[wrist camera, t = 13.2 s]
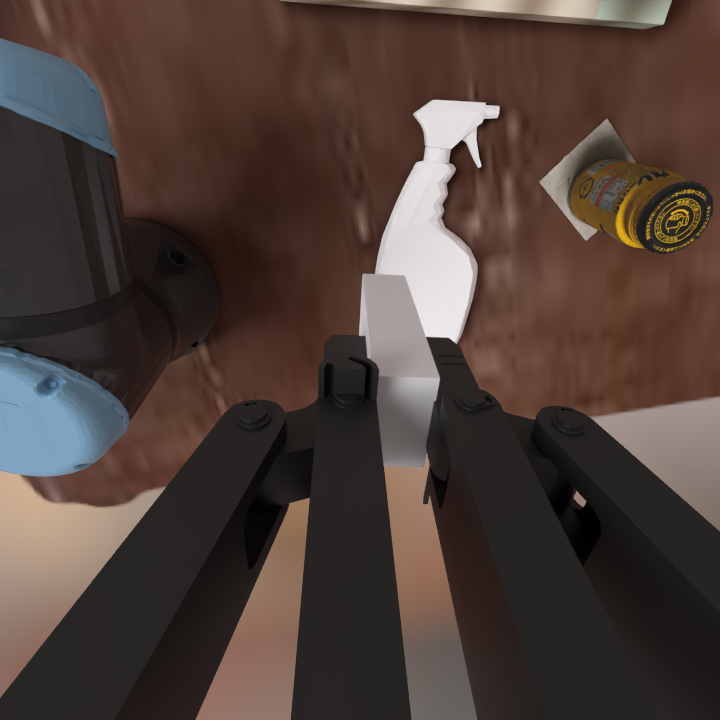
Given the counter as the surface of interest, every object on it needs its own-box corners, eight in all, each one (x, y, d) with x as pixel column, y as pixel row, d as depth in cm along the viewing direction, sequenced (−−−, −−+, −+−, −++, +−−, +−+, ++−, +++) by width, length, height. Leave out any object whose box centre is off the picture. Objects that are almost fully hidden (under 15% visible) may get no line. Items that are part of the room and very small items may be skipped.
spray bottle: (367, 339, 50) (390, 94, 38) (458, 344, 51) (509, 105, 38) (368, 351, 48) (393, 93, 35) (464, 356, 48) (521, 105, 36)
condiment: (585, 240, 44) (657, 282, 34) (538, 181, 41) (602, 208, 31) (650, 185, 42) (749, 212, 31) (605, 118, 39) (698, 124, 28)
